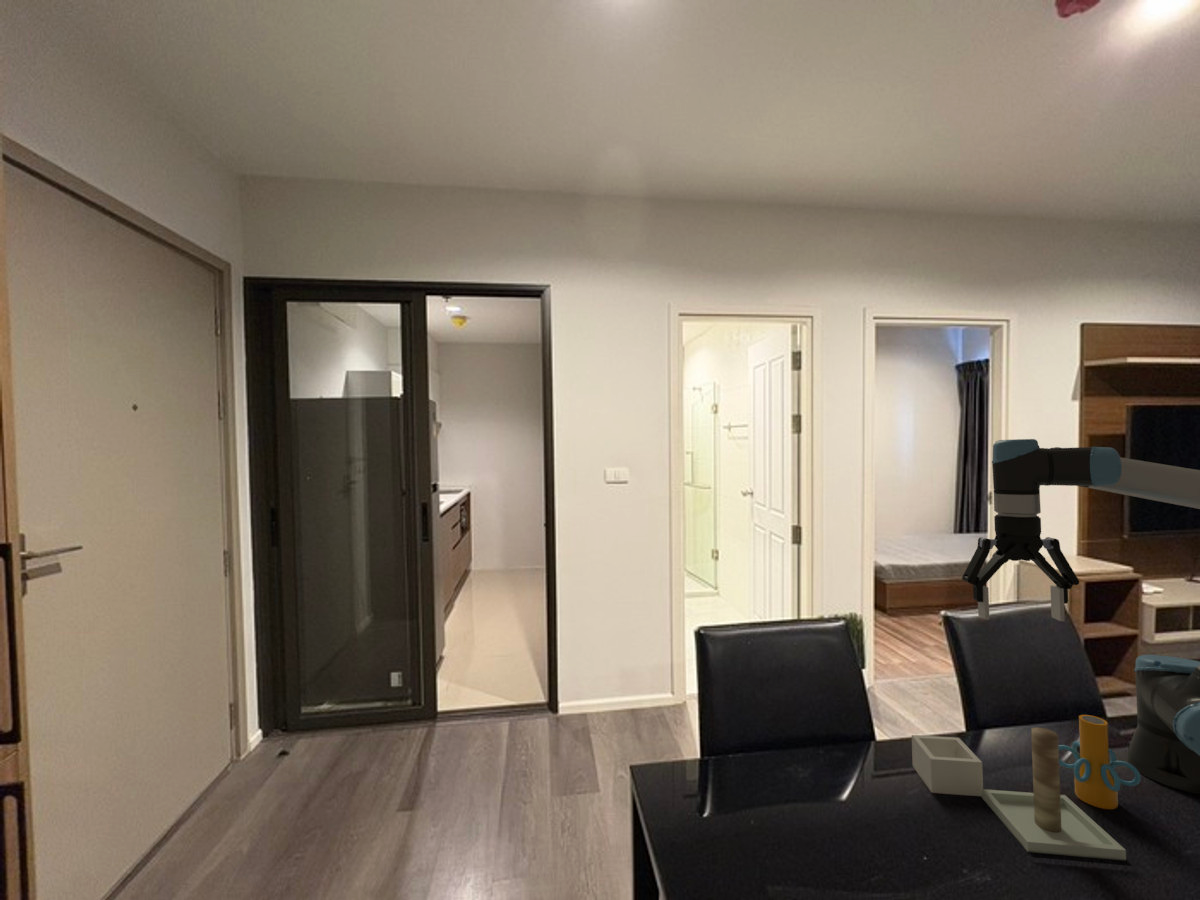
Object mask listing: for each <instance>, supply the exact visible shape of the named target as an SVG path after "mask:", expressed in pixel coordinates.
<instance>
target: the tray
mask: <svg viewBox="0 0 1200 900" xmlns="http://www.w3.org/2000/svg"><path fill="white" fill-rule="evenodd" d="M981 799H982V800H983V801H984V802H985V803H986V805H987V806H988V807H989V808H990V809H991V811H993V813H994V814H995V815H996V816H997V818H998V819H999V820H1000V821H1001V822H1002V823H1003V825H1004V826H1005V827H1006V829H1007V830H1008V831H1009V832H1010V833H1011V834H1012V835H1013V836H1014V837H1015V839H1016V840H1017V841H1018V842H1019V844H1020V845H1021V846H1022V847H1023V848H1024V849H1025V850H1026V852H1027V853H1037V854H1046V855H1057V856H1059V855H1060V856H1068V857H1069V856H1070V857H1081V858H1091V859H1092V858H1093V859H1103V860H1114V861H1126V862H1127V850H1126V849H1125V848H1124V847H1123V846H1122V845H1121V844H1120V843H1118V842H1117V841H1116V840H1115V839H1114V838H1113V837H1112V836H1111V835H1110V834H1109V833H1108V832H1106V831H1105V830H1104V828H1102V827H1101V826H1100V825H1099V824H1097V822H1095V821H1094V820H1093V819H1092V818H1091V817H1090V816H1089V815H1088V814H1087V813H1086V812H1084V811H1083V810H1082V809H1081V808H1080V807H1079V806H1078V805H1076V804H1075V802H1073V801H1072V800H1071V799H1070V798H1069V797H1068V796H1067V795H1066V794H1060V801H1061V828H1062V830H1061V832H1057V833H1056V832H1050V831H1047V830H1044V829H1042V828H1040V827H1039V826H1038V825H1036V823H1035V818H1034V792H1025V791H1012V790H1001V789H999V790H997V789H985V788H983V789H982V796H981Z"/></svg>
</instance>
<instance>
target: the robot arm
mask: <svg viewBox="0 0 1200 900" xmlns="http://www.w3.org/2000/svg"><path fill="white" fill-rule="evenodd" d="M991 464H992V481H993V510H994V513H997V514H995V516H994V518H993V519H994V532H995V537H994V538H986V537H982V536H980V537H979V538H978V539H977V548H976V549H975V551H974V553H973V555H972V556H971V559H970V561H969V563H968V565H967V566H966V569H965V571H964V573H963V574H962V576H961V579H962V580H963V581H964V582H966V583H968V584H971V585H972V595H973V597H972V598H973V600H974V601H975V602H977V612H978V613H977V614H978V616H979V617H980V618H982V619H984V620H989V621H990V602H989V601H990V598H989V592H990V591H989V587H988V586H985V585H986V584H987V583H988V582H989V580H990V579H991V578H992V577H993V576H994V575H995V574H996V572H998V570H1000V568H1001V567H1002V566H1003V565H1005V564H1006V563H1008V562H1009V560H1010V561H1014V562H1017V561H1024V562H1030V561H1031V562H1034V564H1035V565H1036V566H1037V567H1038V568H1039V569H1040V570H1041V571H1042V572H1043V574H1045V575H1046V576H1047V577H1048V578H1049V579H1050V580H1051V581H1052V582H1053V583H1054V585H1050V610H1051V612H1050V613H1051V619H1052V618H1053V619H1054V620H1056V621H1059V622H1066V621H1065V620H1066V618H1065V616H1066V615H1065V604H1067V605H1068V603H1069V590H1071V589H1072V587H1073V586H1077V585H1078V586H1079V584H1080V580H1079V578H1078V577H1077V575H1076V572H1074V570H1073V568H1072V566H1071V565H1070V563H1069V562H1068V560H1067V558H1066V557H1065V555H1064V553H1063V551H1062V550H1061V544H1060V540H1059V539H1057V538H1054V537H1049V536H1047V537H1045V538H1042V537H1041V534H1042V520H1041V519H1042V518H1041V517H1040V516H1038V515H1039V514H1041V513H1042V512H1041V511H1042V510H1041V495H1040V494H1041V493H1040V492H1041V491H1040V487H1041V486H1047V487H1048V486H1070V487H1071V486H1072V487H1073V486H1075V487H1079V488H1087V489H1093V490H1098V491H1102V492H1109V493H1114V494H1119V495H1124V496H1125V495H1126V496H1131V497H1134V498H1135V497H1136V498H1140V499H1145V500H1150V501H1156V502H1162V503H1166V504H1173V505H1176V506H1183V507H1188V508H1193V509H1196V510H1197V509H1198V510H1200V469H1194V468H1186V467H1181V466H1176V465H1169V464H1163V463H1157V462H1151V461H1147V460H1146V461H1144V460H1139V459H1133V458H1126V457H1121V456H1120V454H1119V451H1117V449H1115V448H1114V447H1103V446H1085V447H1082V446H1081V447H1058V446H1056V447H1051V448H1047V447H1046V448H1044V447H1040V445H1039V442H1038V439H1034V438H1027V439H1026V438H1024V439H1021V438H1020V439H999V440H996V441H995V442H994V443H993V445H992V461H991ZM993 547H995V548H996V549H997V550H995V552H994V553H993V554H991V555H992V556H991V558H990V559H989V560H988V561H987V563H985V561H986V560H987V558H988V557H989V553H990V551H991V549H993ZM1042 548H1044V549H1045V550H1046V552H1047V553H1048V554H1049V556H1050V559H1051V560H1052V561H1053V563H1054V565H1055V567H1056V569H1057V570H1056V569H1055V568H1054V566H1052V564H1051V563H1050V562H1049V561H1047V559H1046V557H1045V556H1044V555H1043V554H1042V553H1041V552H1040V551H1041V549H1042ZM984 564H985V565H984ZM1134 673H1135V691H1136V693H1135V695H1136V697H1135V698H1136V715H1137V716H1136V718H1137V724H1136V725H1137V726H1136V728H1135V730H1134V733H1133V736H1132V738H1131V740H1130V743H1129V745H1128V746H1127V747H1126V756H1127V757H1126V759H1127V761H1126V762H1127V763H1129V764H1131V765H1132V766H1134V767H1135V768H1136V769H1137V770H1138V772H1139V773H1140V775H1141V774H1142V775H1143V776H1144V777H1147V778H1149V779H1151V780H1152V781H1155V782H1158V783H1160V784H1162V785H1165V786H1166V787H1167V786H1168V787H1170V788H1173V789H1176V790H1179V791H1183V792H1186V793H1191V794H1195V795H1200V661H1198V660H1193V659H1190V658H1189V659H1188V658H1184V657H1183V658H1182V657H1176V656H1167V655H1157V654H1143V655H1139V656H1137V657H1136V659H1135V667H1134Z"/></svg>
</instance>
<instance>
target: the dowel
mask: <svg viewBox="0 0 1200 900" xmlns="http://www.w3.org/2000/svg"><path fill="white" fill-rule="evenodd" d="M1030 732H1031V756H1032V760H1031V761H1032V763H1031V764H1032V783H1033V784H1032V785H1033V789H1032V790H1033V793H1034V818H1035V823H1036V825H1038V826H1039V827H1040V828H1042V829H1044V830H1047V831H1050V832H1056V833H1057V832H1061V830H1062V828H1061V801H1060V795H1061V783H1060V782H1061V776H1060V764H1059V759H1060V758H1059V757H1060V753H1059V752H1060V750H1059V747H1058V745H1059V735H1058V734H1057V733H1056V732H1055V731H1053V730H1050V729H1047V728H1044V727H1032V728H1031V731H1030Z"/></svg>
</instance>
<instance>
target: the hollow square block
mask: <svg viewBox="0 0 1200 900" xmlns="http://www.w3.org/2000/svg"><path fill="white" fill-rule="evenodd" d="M911 752H912V755H911V756H912V760H911V761H912V767H913V769H914V771H916V772H917V774H918V777H920V779H921V780H922V781H923V782H924V784H925V786H926V787H927V789H928V790H929V791H930V792H931V793H933V794H944V795H955V796H956V795H957V796H959V795H960V796H969V797H970V796H972V797H973V796H974V797H982V789H984V778H983V776H984V775H983V774H984V773H983V762H982V761H981V759H979V757H978V756H977V755H976V754H975V753H974V752H973V751H972V750H971V749H970V748H969V747H968V746H967V745H966V744H965V742H964V741H963V740H962V739H961V738H960V737H953V736H951V737H950V736H936V735H935V736H933V735H918V734H915V735H914V734H911Z"/></svg>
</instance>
